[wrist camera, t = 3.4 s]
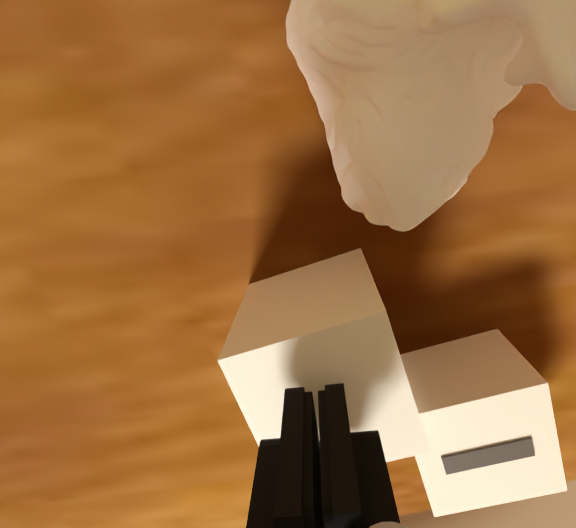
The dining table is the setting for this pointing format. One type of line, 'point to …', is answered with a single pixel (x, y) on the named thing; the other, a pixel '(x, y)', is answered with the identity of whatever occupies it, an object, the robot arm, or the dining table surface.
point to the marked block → (483, 424)
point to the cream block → (322, 352)
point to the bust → (423, 88)
